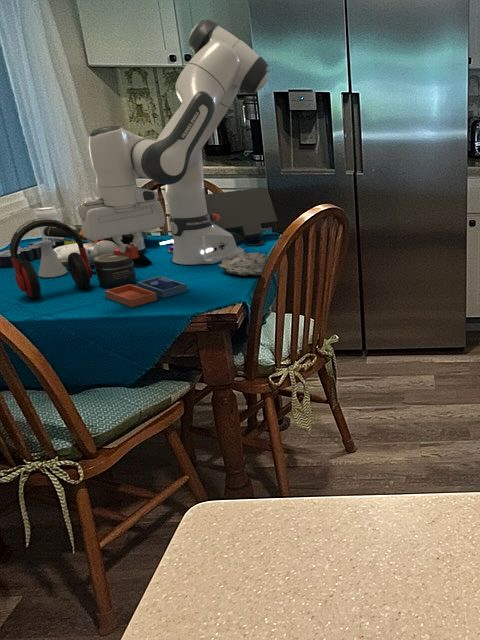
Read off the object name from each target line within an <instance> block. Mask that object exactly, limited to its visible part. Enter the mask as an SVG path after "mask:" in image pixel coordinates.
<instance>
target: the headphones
mask: <svg viewBox="0 0 480 640" xmlns="http://www.w3.org/2000/svg"><path fill="white" fill-rule="evenodd" d="M44 226H50V227H56V228H59V229H62V230H64V231H65V232H67V233H68V234H69V235H71V236H72V238H71V239H73V241H75V242H76V243H77V245H78V248H79V252H80V254H78V253H76V252H73V253H70V254H69V256H68V265H69V268H68V269H69V273H70V277H71V278H72V280H73V282H74V284H75V285H76V286H77V287H78V288H80V289H86V288H87V287H89V285H90V284H91V279H92V278H93V271H92V270H93V269H92V266H91V265H90V264H89V262H88V260H87V254H86V250H85V248H84V245H83V241H84V240H82V239H81V237H80V236H79V235H78V233H77V232H76V231H75V230H73V228H72V227H71V226H69V225H68V224H67V223H64V222H62V221H60V220H59V221H57V220H54V219H47V218H42V219H37V218H36V219H32V220H28V221H26V222H25V223H23V224H22V225H21V226H20V227H18V228H17V229H16V231H15V232H14V233H13V235H12V237H11V239H10V243H9V249H10V254H11V256H12V257H11V259H12V263H13V269H14V278H15V282H16V285H17V287H18V289H19V290H20V291H21V292H23V293H25V294H26V295H27V297H30V298H31V299H37V298H39V297H40V296H41V294H42V290H41V289H42V287H41V283H40V279H39V276H38V273H37V271H36V269H35V266H33V264H32V263H31V261H22V262H20V263H18V259H17V250H18V247H19V245H20V243H21V241H22V239H23V238H24V237H25V236H26V234H28V233H29V232H31V231H33V230H35V229H37V228H38V229H39V227H44Z"/></svg>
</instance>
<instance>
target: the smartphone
mask: <svg viewBox="0 0 480 640" xmlns="http://www.w3.org/2000/svg"><path fill="white" fill-rule="evenodd" d="M138 255H139V258H134V259H133V262H134V263H135V264H144V265H147V264H148V265H152V264H153V261H152V260H151V259H149V258H148V257H147V256H146V255H145V253H144V252H141V251H139V250H138Z"/></svg>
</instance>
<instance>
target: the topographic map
mask: <svg viewBox="0 0 480 640" xmlns="http://www.w3.org/2000/svg"><path fill="white" fill-rule="evenodd" d="M159 231H160V232H161V231H163V229H160V228H155V229H150V230H145V232H146V233H156V232H159Z"/></svg>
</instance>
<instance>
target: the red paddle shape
mask: <svg viewBox="0 0 480 640" xmlns="http://www.w3.org/2000/svg"><path fill="white" fill-rule="evenodd" d="M126 245H128V249H129V252H125V253H122V252H120V249H119V248H116V249H114V250H113V251H114V255H117V256H122V255H123V256H126V257H129V258H132V259H134V258H139V255H138V250H137V247H136V246H132V245H129V244H126Z"/></svg>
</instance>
